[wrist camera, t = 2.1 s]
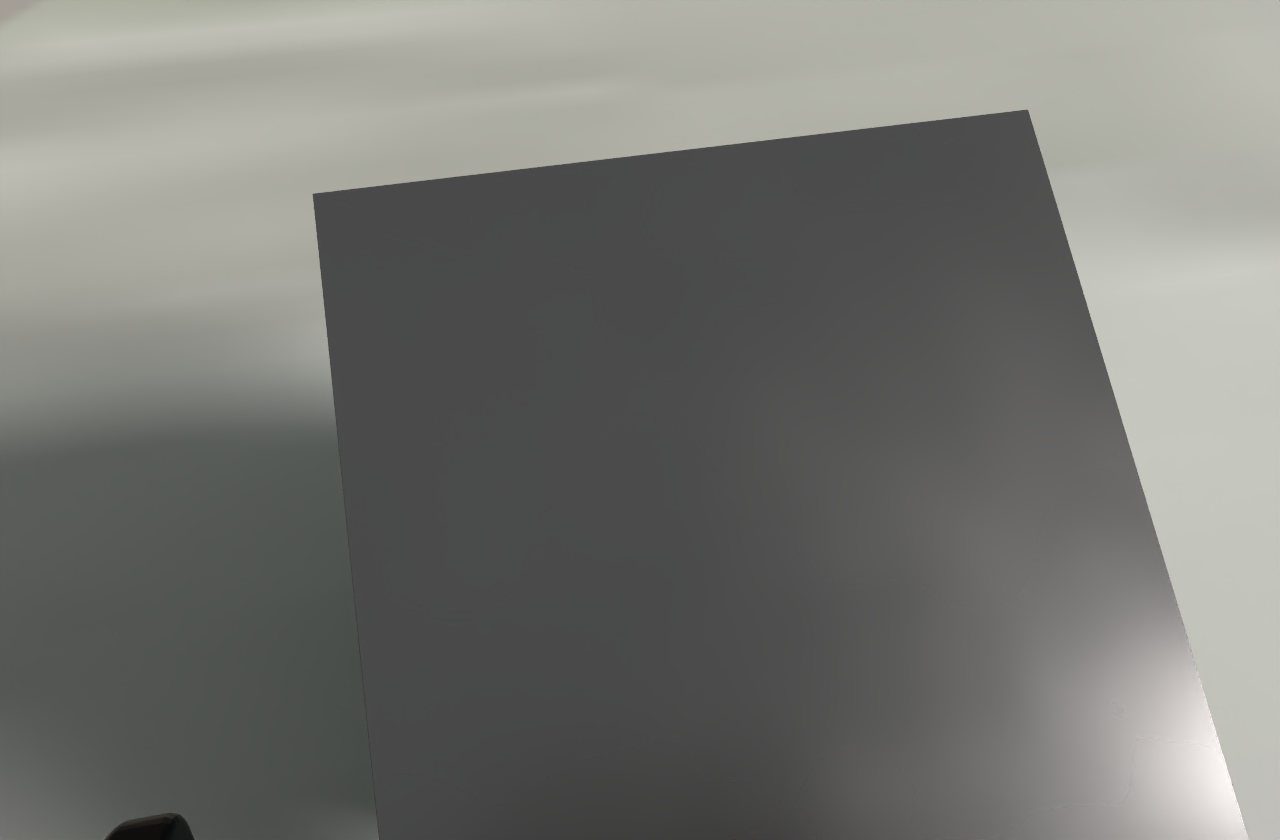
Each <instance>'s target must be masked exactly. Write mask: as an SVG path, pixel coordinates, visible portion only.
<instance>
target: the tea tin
mask: <svg viewBox="0 0 1280 840" xmlns="http://www.w3.org/2000/svg"><path fill="white" fill-rule="evenodd" d="M313 201H314V210H315V220H316V230H317V239H318V249H319V259H320V269H321V278H322V288H323V298H324V307H325V317H326V327H327V337H328V346H329V356H330V366H331V375H332V385H333V395H334V405H335V414H336V424H337V434H338V443H339V453H340V463H341V473H342V482H343V492H344V502H345V511H346V521H347V531H348V541H349V550H350V560H351V570H352V579H353V589H354V599H355V609H356V618H357V628H358V638H359V648H360V657H361V667H362V677H363V686H364V696H365V706H366V716H367V725H368V735H369V745H370V754H371V764H372V774H373V784H374V793H375V803H376V813H377V822H378V832H379V840H1249V839H1248V836H1247V833H1246V829H1245V826H1244V823H1243V819H1242V816H1241V813H1240V810H1239V806H1238V803H1237V800H1236V796H1235V793H1234V790H1233V786H1232V783H1231V780H1230V777H1229V773H1228V770H1227V767H1226V763H1225V760H1224V757H1223V753H1222V750H1221V747H1220V743H1219V740H1218V737H1217V734H1216V730H1215V727H1214V724H1213V720H1212V717H1211V714H1210V710H1209V707H1208V704H1207V700H1206V697H1205V694H1204V691H1203V687H1202V684H1201V681H1200V677H1199V674H1198V671H1197V667H1196V664H1195V661H1194V657H1193V654H1192V651H1191V648H1190V644H1189V641H1188V638H1187V634H1186V631H1185V628H1184V624H1183V621H1182V618H1181V614H1180V611H1179V608H1178V605H1177V601H1176V598H1175V595H1174V591H1173V588H1172V585H1171V581H1170V578H1169V575H1168V571H1167V568H1166V565H1165V562H1164V558H1163V555H1162V552H1161V548H1160V545H1159V542H1158V538H1157V535H1156V532H1155V528H1154V525H1153V522H1152V519H1151V515H1150V512H1149V509H1148V505H1147V502H1146V499H1145V495H1144V492H1143V489H1142V486H1141V482H1140V479H1139V476H1138V472H1137V469H1136V466H1135V462H1134V459H1133V456H1132V452H1131V449H1130V446H1129V443H1128V439H1127V436H1126V433H1125V429H1124V426H1123V423H1122V419H1121V416H1120V413H1119V409H1118V406H1117V403H1116V400H1115V396H1114V393H1113V390H1112V386H1111V383H1110V380H1109V376H1108V373H1107V370H1106V366H1105V363H1104V360H1103V357H1102V353H1101V350H1100V347H1099V343H1098V340H1097V337H1096V333H1095V330H1094V327H1093V323H1092V320H1091V317H1090V314H1089V310H1088V307H1087V304H1086V300H1085V297H1084V294H1083V290H1082V287H1081V284H1080V280H1079V277H1078V274H1077V271H1076V267H1075V264H1074V261H1073V257H1072V254H1071V251H1070V247H1069V244H1068V241H1067V238H1066V234H1065V231H1064V228H1063V224H1062V221H1061V218H1060V214H1059V211H1058V208H1057V204H1056V201H1055V198H1054V195H1053V191H1052V188H1051V185H1050V181H1049V178H1048V175H1047V171H1046V168H1045V165H1044V161H1043V158H1042V155H1041V152H1040V148H1039V145H1038V142H1037V138H1036V135H1035V132H1034V128H1033V125H1032V122H1031V118H1030V115H1029V112H1028V110H1021V111H1013V112H1004V113H996V114H987V115H979V116H970V117H962V118H953V119H945V120H936V121H928V122H919V123H911V124H902V125H894V126H885V127H877V128H868V129H860V130H851V131H843V132H834V133H826V134H817V135H809V136H800V137H792V138H783V139H775V140H766V141H758V142H749V143H741V144H732V145H724V146H715V147H707V148H698V149H690V150H681V151H673V152H664V153H656V154H647V155H639V156H630V157H622V158H613V159H605V160H596V161H588V162H579V163H571V164H562V165H554V166H545V167H537V168H528V169H520V170H511V171H503V172H494V173H486V174H477V175H469V176H460V177H452V178H444V179H435V180H427V181H418V182H410V183H401V184H393V185H384V186H376V187H367V188H359V189H350V190H342V191H333V192H325V193H316V194H313Z"/></svg>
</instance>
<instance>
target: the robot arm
mask: <svg viewBox="0 0 1280 840" xmlns="http://www.w3.org/2000/svg"><path fill="white" fill-rule="evenodd" d="M105 840H195V839H194V837H193V835H192V832H191V830H190V828H189V825H188V824H187V822H186V820H185V819H184V818H183V817H182V816H181V815H179V814H177V813H167V814H161V815H156V816H150V817H144V818H139V819H133V820H129V821H126V822H124V823H122V824H120V825H119V826H118V827H116V828H115V829H114V830H113V831H112V832H111V833H110V834H109V835H108V836H107V838H106V839H105Z"/></svg>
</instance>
